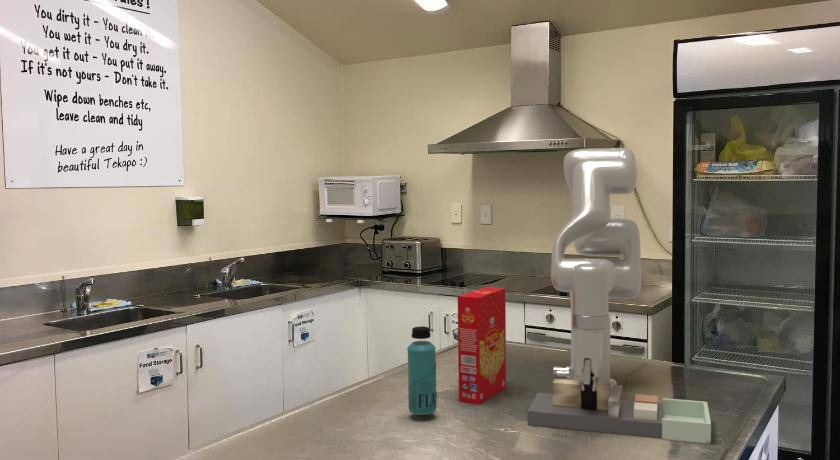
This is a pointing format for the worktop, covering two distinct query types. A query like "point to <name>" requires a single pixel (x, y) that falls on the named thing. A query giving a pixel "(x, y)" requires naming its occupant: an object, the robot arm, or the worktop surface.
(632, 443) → the worktop surface
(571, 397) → the scraper
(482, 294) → the food packaging
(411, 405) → the beverage bottle
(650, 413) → the tile cream
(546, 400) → the grey platform with tray
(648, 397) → the tile terracotta
